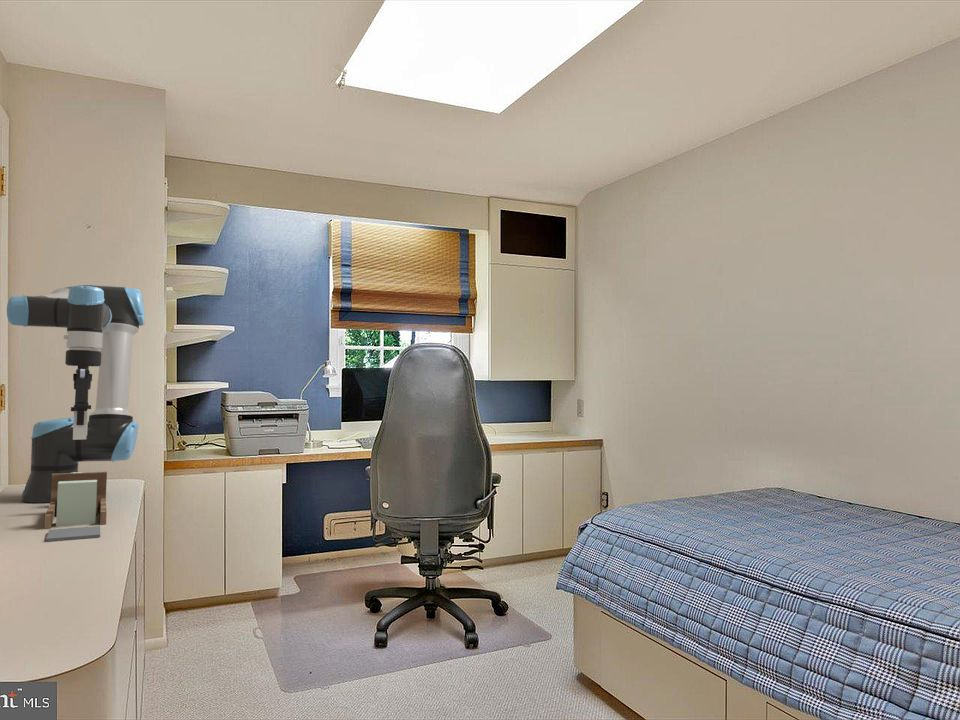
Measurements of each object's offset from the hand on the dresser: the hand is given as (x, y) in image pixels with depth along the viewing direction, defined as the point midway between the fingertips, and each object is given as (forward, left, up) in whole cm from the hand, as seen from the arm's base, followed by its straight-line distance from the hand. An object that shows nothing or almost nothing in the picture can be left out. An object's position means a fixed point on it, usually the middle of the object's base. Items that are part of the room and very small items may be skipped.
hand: (80, 437), depth 161 cm
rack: (-5, -4, -21) cm, 22 cm away
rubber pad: (+11, +8, -20) cm, 25 cm away
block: (0, 0, -21) cm, 21 cm away
